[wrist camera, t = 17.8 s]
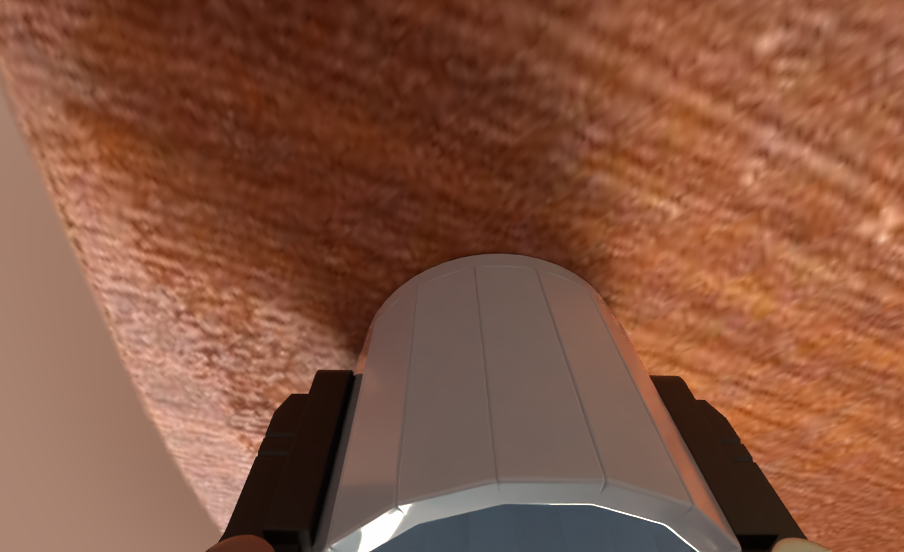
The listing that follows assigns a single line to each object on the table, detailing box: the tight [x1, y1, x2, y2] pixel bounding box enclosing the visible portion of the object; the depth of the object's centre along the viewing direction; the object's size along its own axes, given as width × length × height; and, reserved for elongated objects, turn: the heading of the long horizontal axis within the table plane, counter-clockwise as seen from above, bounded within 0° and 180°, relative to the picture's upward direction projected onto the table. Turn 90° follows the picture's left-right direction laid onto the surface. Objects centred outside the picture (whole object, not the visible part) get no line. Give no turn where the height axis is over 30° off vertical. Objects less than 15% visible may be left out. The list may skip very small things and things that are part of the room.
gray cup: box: [311, 254, 742, 552], centre depth 9 cm, size 6×6×6 cm
